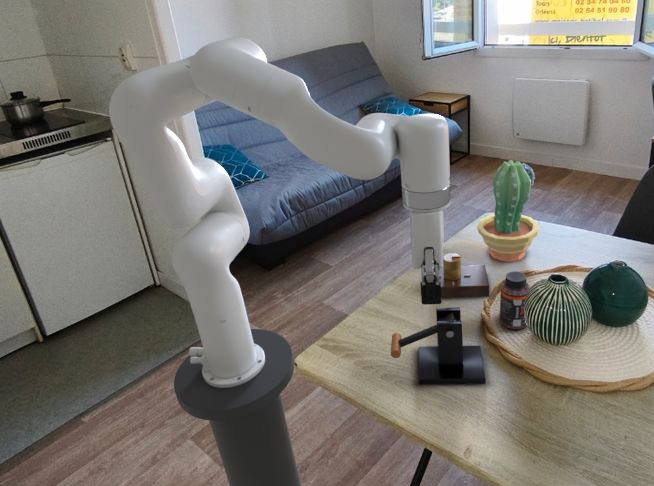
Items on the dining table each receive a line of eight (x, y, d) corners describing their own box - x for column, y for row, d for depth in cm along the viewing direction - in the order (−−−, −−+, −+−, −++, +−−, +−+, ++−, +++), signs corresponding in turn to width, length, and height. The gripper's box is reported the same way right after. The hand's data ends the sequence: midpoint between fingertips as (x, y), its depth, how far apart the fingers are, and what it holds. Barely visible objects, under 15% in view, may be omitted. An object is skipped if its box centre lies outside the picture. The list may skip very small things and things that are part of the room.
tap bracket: (418, 384, 92) (415, 332, 87) (419, 351, 100) (415, 302, 95) (485, 383, 90) (485, 330, 86) (480, 350, 99) (479, 300, 94)
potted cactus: (544, 266, 124) (550, 171, 113) (481, 269, 125) (480, 175, 115) (530, 237, 138) (534, 150, 127) (473, 240, 139) (472, 154, 129)
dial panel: (436, 298, 116) (435, 286, 114) (434, 277, 124) (434, 266, 123) (489, 296, 114) (489, 284, 113) (484, 275, 123) (484, 264, 121)
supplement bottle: (524, 334, 102) (526, 287, 97) (496, 326, 105) (496, 280, 100) (532, 317, 106) (534, 271, 102) (504, 310, 109) (505, 266, 104)
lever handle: (394, 360, 92) (388, 351, 92) (395, 342, 97) (389, 333, 96) (459, 334, 89) (453, 324, 88) (458, 317, 93) (452, 307, 93)
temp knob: (444, 280, 116) (443, 261, 114) (443, 271, 120) (442, 252, 118) (461, 280, 116) (461, 260, 114) (460, 271, 120) (459, 251, 118)
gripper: (404, 176, 87) (410, 261, 94) (400, 219, 71) (407, 318, 78) (447, 173, 86) (450, 260, 93) (453, 217, 70) (456, 317, 78)
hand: (431, 286), depth 86 cm, fingers open, 9 cm apart
